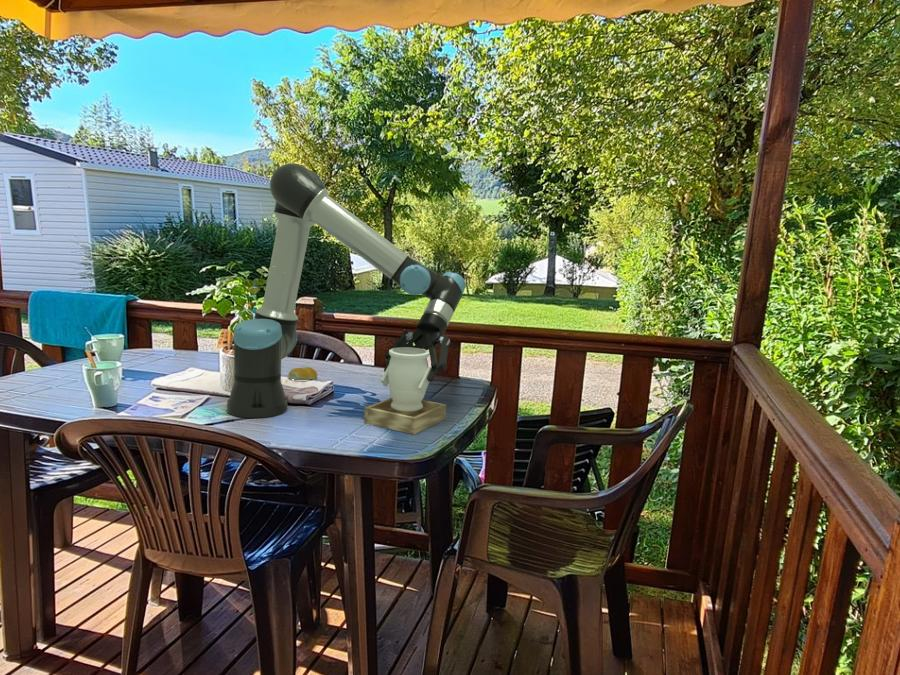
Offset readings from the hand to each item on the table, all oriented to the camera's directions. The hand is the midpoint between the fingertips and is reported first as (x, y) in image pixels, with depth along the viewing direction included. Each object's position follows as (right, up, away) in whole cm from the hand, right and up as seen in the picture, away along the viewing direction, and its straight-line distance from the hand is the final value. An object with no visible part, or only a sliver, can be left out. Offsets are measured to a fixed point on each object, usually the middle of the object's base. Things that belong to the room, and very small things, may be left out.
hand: (402, 387), depth 147 cm
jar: (+1, -6, +4) cm, 7 cm away
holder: (+1, -9, +4) cm, 10 cm away
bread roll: (-36, -1, +43) cm, 56 cm away
